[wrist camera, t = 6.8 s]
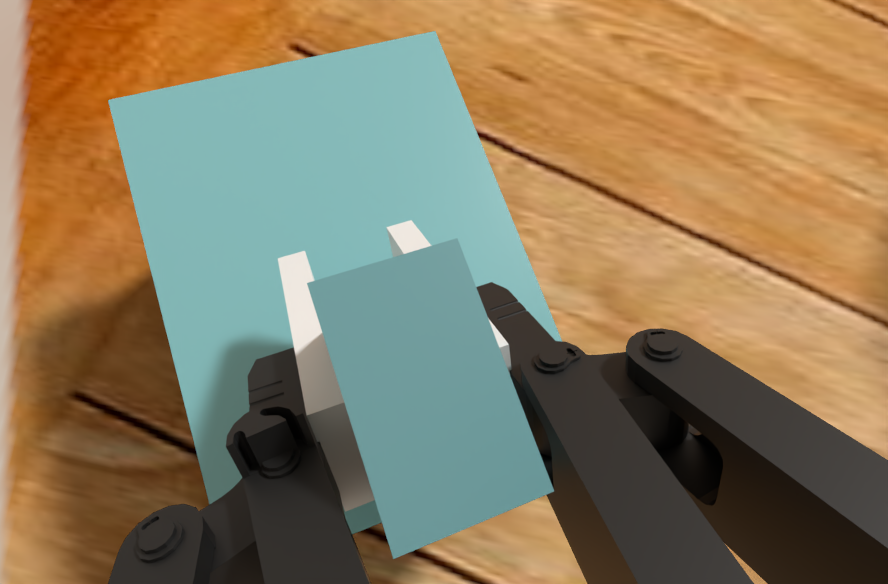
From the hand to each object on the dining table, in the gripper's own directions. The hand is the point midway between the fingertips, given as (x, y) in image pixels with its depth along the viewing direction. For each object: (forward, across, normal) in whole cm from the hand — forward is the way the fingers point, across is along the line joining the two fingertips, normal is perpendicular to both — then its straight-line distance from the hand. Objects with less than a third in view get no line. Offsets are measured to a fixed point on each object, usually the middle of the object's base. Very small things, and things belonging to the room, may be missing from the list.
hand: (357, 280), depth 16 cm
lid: (+4, 0, -2) cm, 4 cm away
